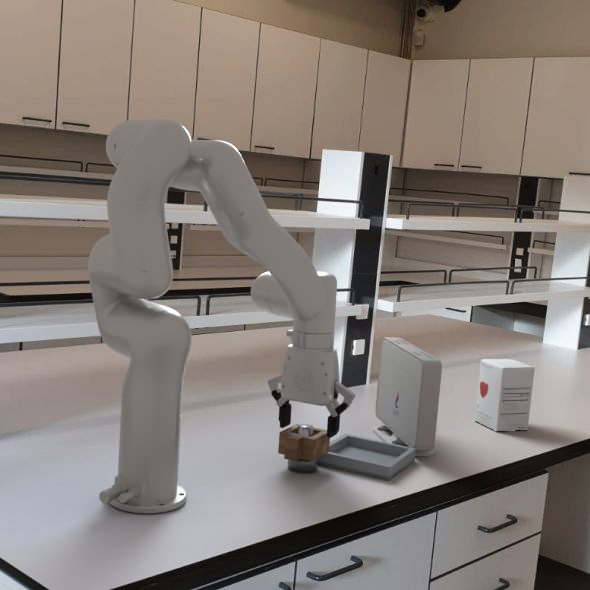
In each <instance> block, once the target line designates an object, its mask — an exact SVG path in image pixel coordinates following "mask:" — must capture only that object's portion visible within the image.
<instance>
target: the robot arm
mask: <svg viewBox="0 0 590 590" xmlns="http://www.w3.org/2000/svg"><path fill="white" fill-rule="evenodd" d="M105 152H106V155H107V157H108V160H109V161H110V163H111V164H112V165H113V166H114V167H115V168H116V170H115V172H114V175H113V177H112V179H111V182H110V183H109V187H108V191H107V199H106V211H107V219H108V220H107V221H108V228H109V233H108V234H107V235H104V236H102V237H101V238H100V239H98V241H97V242H96V243H95V244H94V245H93V247H92V249H91V251H90V254H89V258H88V263H87V264H88V266H87V267H88V268H87V269H88V270H87V272H88V277H89V278H88V280H89V285H90V290H91V296H92V302H93V308H94V311H95V312H94V313H95V317H96V323H97V327H98V331H99V333H100V336H101V338H102V340H103V343H104V344H105V345H106V346H107V347H108V348H110V349H111V350H112V351H113V352H116V353H118V354H121V355H122V356H125V357H127V358H129V359H130V360H129V364H128V367H127V370H126V373H125V375H124V379H123V381H122V382H123V383H122V388H121V396H120V397H121V400H120V421H119V442H118V443H119V445H118V462H117V463H118V464H117V465H118V466H117V475H116V476H114V484H112V486H111V487H109V488H107V489H104V490H102V491H100V492H99V494H98V495H99V497H98V498H99V501H100V502H101V503H102V504H110V506H112V507H114V508H115V509H118V510H121V511H123V512H129V513H134V514H161V513H167V512H170V511H174V510H176V509H178V508H180V507H182V506H184V505H185V503H186V502H187V490H186V489H185V488H183V487H182V486H180V485H178V483H179V482H178V480H179V479H178V478H179V464H180V462H179V461H180V449H181V448H180V446H181V445H180V444H181V443H180V442H181V428H182V427H181V426H182V414H183V412H182V411H183V410H182V409H183V395H184V394H183V391H184V381H185V374H186V369H187V365H188V360H189V356H190V353H191V347H192V339H193V338H192V337H193V336H192V331H191V328H190V324H189V323H188V321H187V320H186V319H185V317H184V316H182V314H181V313H180V312H178V311H176V310H175V309H173V308H171V307H168V306H167V305H162V304H159V303H156V302H152V301H149V300H152V299H158V298H160V297H162V296H163V295H166V293H167V292H169V289H170V288H171V286H172V282H173V279H174V267H173V266H174V265H173V259H172V253H171V247H170V241H169V235H168V227H167V222H166V210H165V203H166V198H167V197H166V196H167V192H168V190H169V188H171V187H172V188H174V189H179V190H183V191H184V190H185V191H189V192H190V191H192V192H199V193H200V194H201V195H202V197H203V198H204V201H205V203H206V204H207V207H208V208H209V210H210V211H211V213H212V216H213V217H214V219H215V221H216V223H217V225H218V227H219V229H220V231H221V233H222V235H223V237H224V238H225V240H226V241H227V242H228V243H229V244H231V246H233V247H234V248H235V249H237V250H238V251H240V252H241V253H243V254H244V255H245V256H247V257H249V258H251V259H252V260H254V261H255V262H256V263H259V264H260V265H261V266H262V267H263V268H264V269H265V270H266V272H264V273H261V274H260V275H259V276H257V277H256V278H255V279H254V281H253V282H252V285H251V287H250V297H251V300H252V302H253V303H254V305H255V306H256V307H257V308H258V309H259V310H261V311H263V312H265V313H268V314H272V315H275V316H279V317H285V318H288V319H291V320H293V321H292V322H293V325H292V329H291V330H290V329H287V331H286V337H287V338H290V339H291V344H288V345H287V347H286V350H285V356H284V359H283V365H282V371H281V375H278V376H275V377H273V378H270V379H268V380H267V384H268V387H269V391H270V392H271V393H270V394H271V396H272V397H273V399H274V400H275V401H276V402H275V403H276V406H278V422H279V428H281V429H284V428H286V427H289V426H290V425H291V423H292V422H291V421H292V406H293V405H292V403H290V401H291V402H292V401H293V402H296V403H297V402H298V403H302V404H307V405H314V406H319V407H323V406H324V407H325V408H326V409H327V411H328V412H329V414H330V415H329V416H328V417H327V424H326V426H327V427H326V430H327V437H328V438H330V439H331V438H333V437H334V436H337V434H338V433H339V431H340V426H341V425H340V423H341V414H343V413H344V412H345V411H346V410H347V409H349V408H350V406H351V404H352V403H353V401H354V399H355V398H356V394H355V392H353V391H351V389H349V388H348V387H346V386H345V385H344V384H343V383H341V382H340V365H339V357H338V351H337V350H338V349H337V348H335V347H334V346H335V330H336V328H335V327H336V314H337V312H336V311H337V310H336V308H337V306H336V305H337V295H338V294H337V293H338V281H337V280H338V279H337V278H336V275H334V274H332V273H330V272H326V271H317V269H316V267H315V266H314V263H313V262H312V260H311V258H310V257H309V254H308V253H307V252H306V250H305V249H304V248H303V247H302V245H301V244H299V243H298V242H297V240H296V239H294V237H293V236H292V235H291V234H290V233H289V232H288V231H287V230H286V229H285V228H284V227H283V225H281V224H280V223H279V222H278V221H277V220H276V219H275V218H274V217H273V216H272V214H271V212H270V210H269V208H268V207H267V205H266V202H265V201H264V199H263V197H262V194H261V193H260V191H259V188H258V187H257V184H256V183H255V180H254V178H253V177H252V174H251V172H250V170H249V169H248V167H247V165H246V163H245V161H244V159H243V156H242V154H241V153H240V152H239V150H238V149H237V148H236V147H235V146H234V145H233V144H232V143H229V142H226V141H223V140H218V139H217V140H216V139H214V140H213V139H191V135H190V133H189V131H188V129H186V127H185V126H184V125H183V124H181V123H179V122H177V121H175V120H170V119H163V118H150V119H149V118H147V119H128V120H124V121H121V122H119V123H118V124H116V125H114V126H113V127H112V128H111V130H110V131H109V133H108V134H107V138H106V140H105ZM279 384H280V387H279ZM339 395H341V396H342V397H343V400H342V402H341V403H340V402H339V401H338V398H339Z"/></svg>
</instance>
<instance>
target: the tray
mask: <svg viewBox="0 0 590 590" xmlns="http://www.w3.org/2000/svg"><path fill="white" fill-rule="evenodd" d="M416 451H417V450H416V449H415V448H410V447H409V446H404V445H402V444H391V443H387V442H383V441H382V440H377V439H373V438H366V437H363V436H358V435H354V434H349V433H344V434H342V435H341V436H339V437H337V438H336V439H334V440H331V441H330V445H329V452H328V453H326V454H324V455H323V456H321V457H319V459H318V465H321V466H325V467H329V468H333V469H338V470H342V471H345V472H346V471H347V472H350V473H355V474H359V475H363V476H366V477H371V478H376V479H381V480H385V481H391V480H392V479H393V478H395V477H396V476H397V475H398V474H400V473H401V472H402V471H405V469H407V468H408V467H409V466H410V465H412V464H413V463H414V462H415V461H416V456H415V452H416Z"/></svg>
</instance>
